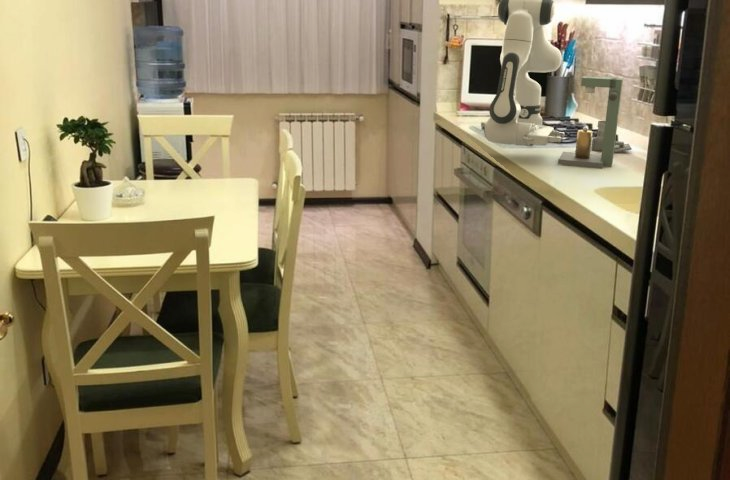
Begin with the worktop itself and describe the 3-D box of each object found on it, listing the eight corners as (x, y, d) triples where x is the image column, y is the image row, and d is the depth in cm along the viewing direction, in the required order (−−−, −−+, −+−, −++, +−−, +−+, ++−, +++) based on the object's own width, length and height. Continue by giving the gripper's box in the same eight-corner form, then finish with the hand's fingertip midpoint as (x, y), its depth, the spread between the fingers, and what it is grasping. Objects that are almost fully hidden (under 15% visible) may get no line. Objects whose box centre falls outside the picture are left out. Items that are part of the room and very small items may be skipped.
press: (562, 156, 294) (571, 73, 283) (613, 161, 288) (623, 76, 277) (555, 167, 277) (564, 80, 266) (609, 172, 270) (620, 83, 260)
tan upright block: (575, 155, 288) (578, 125, 284) (590, 156, 286) (593, 126, 282) (574, 158, 283) (577, 127, 279) (588, 159, 281) (592, 129, 277)
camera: (594, 119, 307) (632, 121, 304) (590, 147, 311) (628, 150, 308) (596, 123, 299) (635, 125, 296) (592, 152, 303) (630, 154, 300)
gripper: (522, 131, 279) (559, 134, 275) (531, 121, 297) (566, 124, 293) (520, 147, 281) (558, 150, 277) (529, 137, 299) (565, 140, 295)
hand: (562, 137), depth 285 cm, fingers open, 8 cm apart
